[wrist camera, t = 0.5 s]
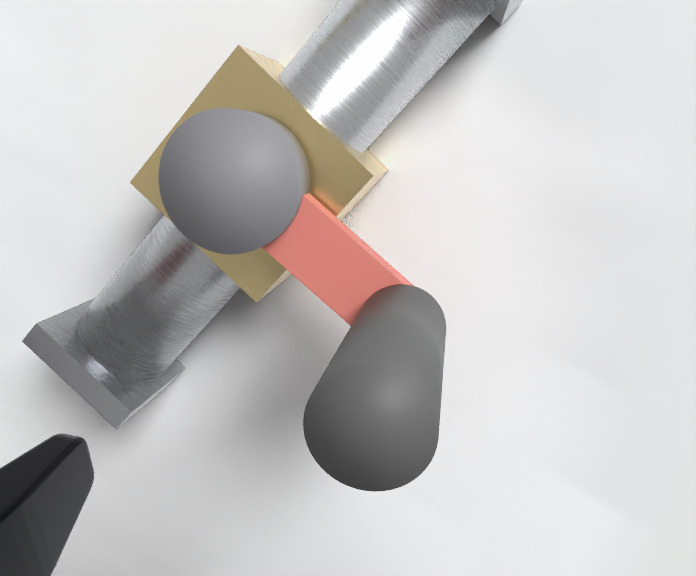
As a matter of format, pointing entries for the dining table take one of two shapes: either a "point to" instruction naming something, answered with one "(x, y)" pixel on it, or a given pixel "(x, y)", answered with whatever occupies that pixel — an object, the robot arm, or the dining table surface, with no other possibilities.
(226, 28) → the dining table surface
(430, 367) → the lever
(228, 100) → the valve body
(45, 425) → the dining table surface
